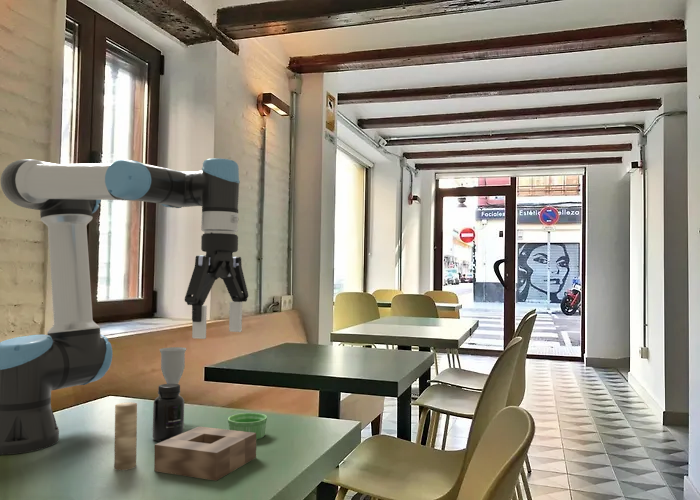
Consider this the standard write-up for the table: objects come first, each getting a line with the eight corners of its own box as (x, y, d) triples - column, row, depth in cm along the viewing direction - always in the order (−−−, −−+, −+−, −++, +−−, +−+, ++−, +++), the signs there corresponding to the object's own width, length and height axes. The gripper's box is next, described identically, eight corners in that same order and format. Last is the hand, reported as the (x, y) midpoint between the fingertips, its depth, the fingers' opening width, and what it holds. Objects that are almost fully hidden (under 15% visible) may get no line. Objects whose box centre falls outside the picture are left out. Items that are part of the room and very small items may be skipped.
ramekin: (220, 440, 131) (220, 420, 131) (239, 429, 140) (239, 411, 140) (256, 443, 129) (256, 423, 129) (273, 432, 137) (273, 414, 137)
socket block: (154, 471, 110) (154, 444, 111) (198, 450, 124) (199, 426, 124) (216, 480, 105) (216, 452, 106) (256, 457, 118) (256, 432, 119)
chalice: (158, 417, 152) (159, 347, 152) (185, 415, 154) (186, 346, 154) (158, 424, 145) (159, 351, 145) (186, 421, 147) (187, 350, 147)
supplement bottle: (174, 443, 129) (175, 388, 129) (146, 441, 130) (147, 387, 130) (189, 434, 135) (189, 383, 136) (162, 433, 137) (163, 381, 137)
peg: (109, 468, 112) (110, 406, 112) (124, 462, 116) (125, 401, 116) (125, 471, 110) (126, 407, 111) (140, 464, 114) (141, 403, 115)
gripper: (200, 229, 109) (198, 342, 108) (264, 236, 132) (263, 329, 131) (167, 229, 111) (164, 340, 111) (235, 236, 135) (234, 328, 134)
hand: (218, 335), depth 121 cm, fingers open, 13 cm apart
